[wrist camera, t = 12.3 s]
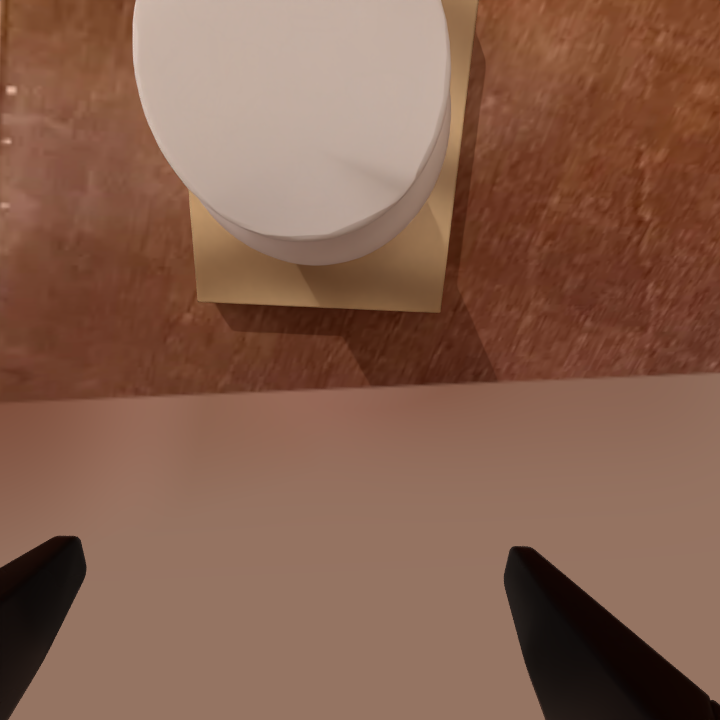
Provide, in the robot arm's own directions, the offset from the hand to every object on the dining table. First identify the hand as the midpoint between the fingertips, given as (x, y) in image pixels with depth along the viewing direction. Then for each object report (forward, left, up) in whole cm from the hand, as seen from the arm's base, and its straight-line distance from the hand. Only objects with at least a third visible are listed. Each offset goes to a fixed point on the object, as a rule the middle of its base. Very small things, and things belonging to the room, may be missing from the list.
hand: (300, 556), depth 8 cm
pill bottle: (+9, 0, -12) cm, 15 cm away
